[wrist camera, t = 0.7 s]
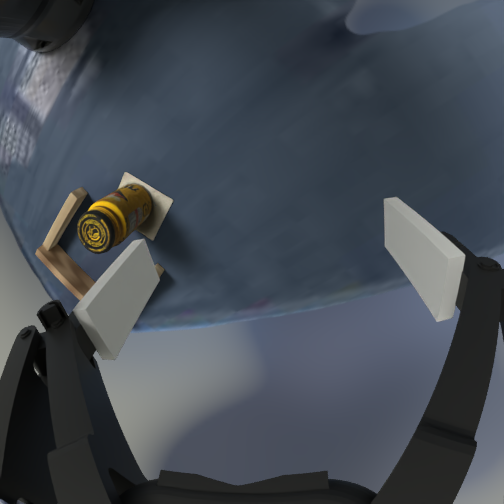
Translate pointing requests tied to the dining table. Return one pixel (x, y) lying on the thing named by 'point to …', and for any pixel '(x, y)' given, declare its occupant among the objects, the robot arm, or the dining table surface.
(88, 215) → the condiment
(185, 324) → the dining table surface
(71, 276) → the bay
